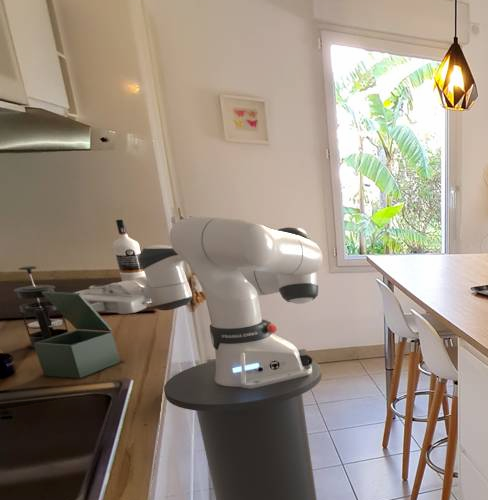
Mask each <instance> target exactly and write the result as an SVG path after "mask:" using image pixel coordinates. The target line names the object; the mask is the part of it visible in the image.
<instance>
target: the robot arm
mask: <svg viewBox="0 0 488 500" xmlns="http://www.w3.org/2000/svg"><path fill="white" fill-rule="evenodd" d="M169 243H170V245H164V244H153V245H148V246H146V247H143V249H142V250H140V251H141V253H140V255H139V258H138V261H139V263H140V265H141V267H142V269H143V270H144V272H145V275H146V276H145V277H139V278H135V279H133V280H132V281H122V280H121V281H119V282H112V283H109V284H95V285H90V286H89V287H88V288H86V289H82V290H77V291H75V292H74V293H80V294H81V295H82V296H83V297H84V298H85V299H86V300H87V302H88V303H89V304H90V305H91V306H92V307H93V308H94V309H95V310H96V312H101V313H115V314H120V315H127V314H135V313H137V312H140V311H143V310H145V309H147V308H149V307H151V308H153V309H155V310H159V311H173V310H176V309H179V308H181V307H184V306H187V305H188V304H189V303H190V302H191V300H192V299H193V293H192V289H191V287H190V284H189V281H188V277H187V276H186V273H185V269H184V266H183V262H185V263H186V264H187V265H188V267H189V268H190V269H191V271H192V273H193V275H194V276H195V278H196V279H197V282H198V283H199V285H200V288H201V289H202V292H203V295H204V297H205V302H206V307H207V311H208V315H209V320H210V325H209V334H210V341H211V344H212V346H213V348H214V353H215V360H216V372H215V379H214V381H215V382H216V383H217V384H219V385H223V386H232V387H243V388H248V389H252V388H257V387H261V386H265V385H269V384H273V383H278V382H282V381H286V380H290V379H294V378H299V377H303V376H307V375H309V374H310V373H311V372H312V367H311V363H312V361H314V360H313V357H311V356H310V355H308V352H307V349H306V348H301V349H298V348H297V347H296V345H294V344H293V343H292V342H291V341H288V340H286V339H285V338H283V337H280V336H278V335H277V334H275V333H276V331H277V329H278V328H277V326H276V325H275V324H274V323H272V322H271V321H269V320H267V319H264V318H262V317H263V316H262V312H261V304H260V298H259V297H260V296H267V295H274V294H278V293H279V294H280V295H281V298H282V299H283V300H284V301H286V302H287V303H292V304H297V305H300V304H301V305H302V304H307V303H309V302H311V301H314V300H315V299H316V298H317V297H318V295H319V284H318V279H317V277H318V276H317V272H318V271H319V270H320V268H321V267H322V264H323V260H324V256H323V253H322V250H321V248H320V247H319V245H318V244H316V243H315V242H313V241H311V239H310V237H309V234H308V233H307V232H306V231H305V230H304V229H302V228H300V227H294V226H286V227H282V228H278V229H275V228H274V229H273V228H269V227H266V226H264V225H262V224H259V223H256V222H253V221H250V220H246V219H242V218H241V219H240V218H228V217H216V216H202V215H196V216H190V217H185V218H181V219H178V220H177V221H175V223H173V225H172V226H171V228H170V231H169ZM308 360H309V361H308Z"/></svg>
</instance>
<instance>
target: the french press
mask: <svg viewBox="0 0 488 500" xmlns="http://www.w3.org/2000/svg"><path fill="white" fill-rule="evenodd" d="M38 268H39V267H38V266H35V265H28V266H21V267H19V268H18V270H19V271H20V270H21V271H26V273H27V275H29V277H30V280H31V283H32V285H26V286H19V287H17V288H14V289H13V292H14V293H16V294H17V298H18V299H24V300H27V299H28V300H29V299H32V300H33V299H36V300H37V301H34V302H27V303H24V304H21V305H19V306H18V307H19V310H20V314H21V317H22V320H23V322H24V326H25V328H26V332H27V335H28V337H29V342H30V343H31V344H30V347H31V348H33V349H35V347H34V343H36V342H39V341H42V340H46V339H49V338H52V337H55V336H59V335H62V334H65V333H68V332H69V329H68V326H67V322H66V318H65V317H64V316H63V315H62V314H61V316H62V319H55V318H54V319H51V318H50V313H49V312H52V311H56V310H57V309H56V307H55V306H54V305H53V304H52V303H51V302H50V301H49V300H44V301H41V300H40V299H42V298H46V297H45V296H44V295H43V294H42V292H43V291H49V292H55V290H54V289H55V288H56V286H55V285H52V284H35V281H34V278H33V270H35V269H36V270H37V269H38ZM57 311H58V310H57ZM25 314H35V317H36V320H37V321H33V322H29V323H27V320H26V318H25ZM62 325H64V326H65V328H57V327H59V326H62ZM55 327H56V328H55ZM29 329H31V330H39V331H35V332H31V333H30V330H29Z"/></svg>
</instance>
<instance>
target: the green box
mask: <svg viewBox="0 0 488 500" xmlns="http://www.w3.org/2000/svg"><path fill="white" fill-rule="evenodd" d="M34 347H35V348H34V350H35V352H36V356H37V358H38V361H39V365H40V368H41V371H42V375H43V376H46V377H47V376H49V377H60V378H61V377H62V378H75V379H82V378H84V377H87V376H89V375H92V374H95V373H96V372H99V371H101V370H105V369H107V368H109V367H112V366H114V365H117V364H119V363H121V360H120V355H119V352H118V348H117V345H116V341H115V338H114V334H113V332H112V331H98V330H84V329H76V330H72V331H68V333H65V334H62V335H59V336H55V337H52V338H49V339H46V340H42V341H39V342H36V343H34Z"/></svg>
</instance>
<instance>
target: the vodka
mask: <svg viewBox="0 0 488 500" xmlns="http://www.w3.org/2000/svg"><path fill="white" fill-rule="evenodd" d="M115 224H116V227H117V228H116V229H117V232H118V235H119V238H117V239H116V240H115V241H113V243H112V249H113V251H114V255H115V259H116V263H117V267H118V269H119V275H120V279H121V282H122V281H132V280H133V279H135V278H139V277H145V276H146V275H145V272H144V270H143V269H142V267H141V265H140V263H139V261H138V258H139V255H140V253H141V251H142V250H141V248H140V244H139V242H138V241H137V240H134V239H133V238H131V237H129V235H128V232H127V227H126V223H125V220H124V219H115Z"/></svg>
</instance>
